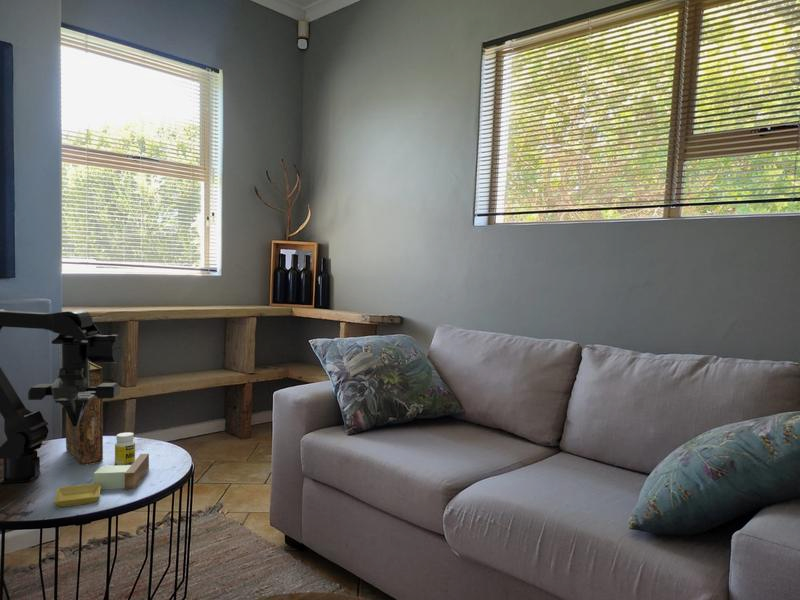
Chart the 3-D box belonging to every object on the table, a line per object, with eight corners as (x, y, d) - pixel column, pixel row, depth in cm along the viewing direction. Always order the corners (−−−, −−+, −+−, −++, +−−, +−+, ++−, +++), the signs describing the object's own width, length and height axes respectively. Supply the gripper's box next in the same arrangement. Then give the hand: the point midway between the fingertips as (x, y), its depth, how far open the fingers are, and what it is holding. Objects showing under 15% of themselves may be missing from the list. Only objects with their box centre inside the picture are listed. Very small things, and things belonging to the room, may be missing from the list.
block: (93, 490, 132) (93, 473, 131) (101, 482, 137) (101, 466, 136) (125, 488, 133) (125, 472, 133) (132, 481, 138) (132, 464, 138)
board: (124, 490, 132) (124, 473, 131) (140, 469, 145) (140, 453, 145) (134, 489, 132) (133, 472, 132) (148, 468, 146) (148, 453, 145)
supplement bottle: (126, 470, 145) (126, 437, 144) (110, 468, 145) (110, 436, 145) (139, 464, 149) (139, 432, 149) (123, 462, 150) (123, 431, 150)
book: (104, 461, 150) (104, 368, 149) (81, 465, 147) (80, 370, 146) (87, 446, 163) (87, 360, 161) (66, 450, 159) (65, 362, 158)
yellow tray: (101, 490, 132) (101, 482, 132) (99, 505, 124) (99, 495, 124) (57, 496, 128) (57, 487, 128) (53, 511, 120) (53, 501, 120)
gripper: (16, 368, 127) (17, 437, 127) (106, 367, 130) (106, 434, 131) (38, 360, 138) (38, 424, 138) (120, 360, 141) (120, 421, 142)
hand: (75, 426), depth 137 cm, fingers closed
